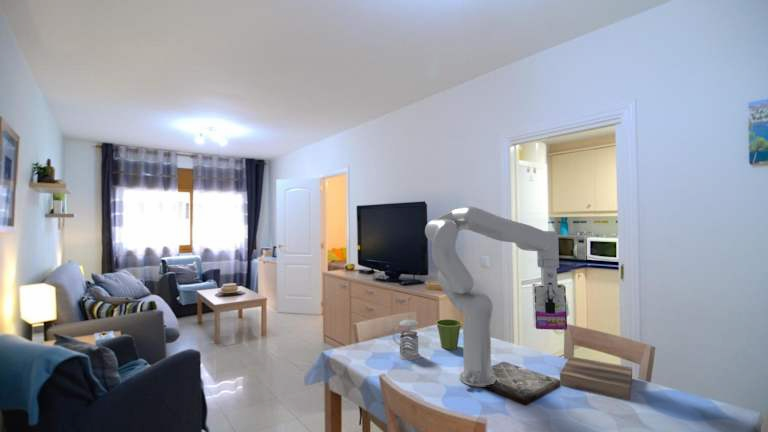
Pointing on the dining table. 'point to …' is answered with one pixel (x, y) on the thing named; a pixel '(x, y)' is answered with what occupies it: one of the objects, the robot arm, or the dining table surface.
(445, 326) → the plant pot
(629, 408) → the dining table surface
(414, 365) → the dining table surface
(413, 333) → the french press
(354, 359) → the dining table surface
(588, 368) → the walnut stand
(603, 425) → the dining table surface
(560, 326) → the candy bar box
